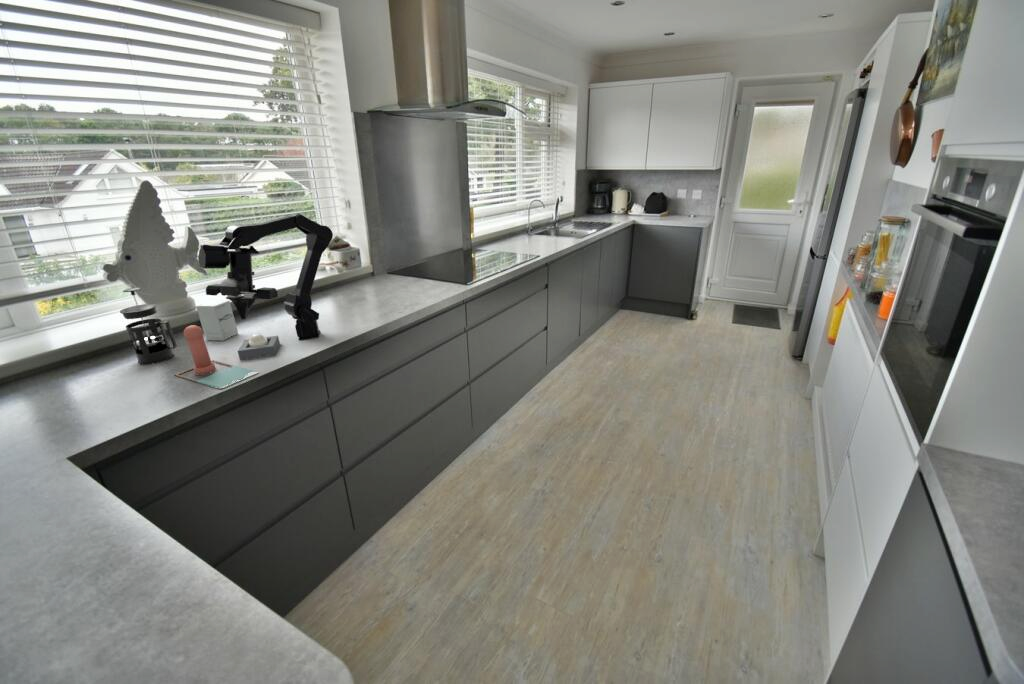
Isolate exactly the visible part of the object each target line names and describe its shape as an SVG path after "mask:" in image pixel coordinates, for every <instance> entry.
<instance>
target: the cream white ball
mask: <svg viewBox="0 0 1024 684" xmlns="http://www.w3.org/2000/svg"><path fill="white" fill-rule="evenodd" d="M266 337H267V336H264V335H262V334H260V333H255V334H252V335H251V337H250V340H249V345H250V347H257V346H264V345H268V341H267V338H266Z"/></svg>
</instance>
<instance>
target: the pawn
mask: <svg viewBox="0 0 1024 684" xmlns="http://www.w3.org/2000/svg"><path fill="white" fill-rule="evenodd" d="M183 337H184V338H185V339H186V341H187V345H188V347H189V350H190V354H191V357H192V360H193V363H194V366H193V367H192V368H194V369H193V371H194V375H196V374H198V375H197V376H202V375H201V374H205V375H208V374H207V373H209V374H211V373H210V372H212V371H214V370H215V369H216V366H215V365H216V364H215V363H214V362H211V361H212V360H211V357H210V354H209V351H208V347H207V344H206V341H205V339H204V338H205V337H204V331H203V328H202V327H200V326H198V325H195V324H193V325H191V324H190V325H189V326H187V327H186V328H184V329H183ZM216 370H217V369H216ZM216 370H215V371H216ZM215 371H214V372H215ZM212 373H213V372H212Z"/></svg>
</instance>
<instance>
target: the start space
mask: <svg viewBox="0 0 1024 684" xmlns="http://www.w3.org/2000/svg"><path fill="white" fill-rule="evenodd" d="M211 362H216V363H215V364H218V363H219V364H218V365H222V364H223V365H222V366H225V365H227V366H226V367H228V368H230V367H229V366H231V367H232V366H234V365H233V364H229V363H225V362H221V361H218V360H215V359H212V360H211ZM192 369H193V370H194V368H193V367H191V368H188V369H186V370H183V371H180V372H178V373H175V374H174V376H175V375H176V376H175V377H178V376H179V377H178V378H181V377H182V378H181V379H184V378H185V379H184V380H187V379H189V380H188V381H190V380H192V381H191V382H194V381H196V382H195V383H197V381H198V380H199V379H194V378H191V377H188V376H185V375H182V374H181V373H183V374H185V373H188V372H190V371H193V370H192ZM189 370H190V371H189ZM187 371H188V372H187ZM184 372H185V373H184ZM218 372H219V371H218ZM218 372H216V373H218ZM179 374H180V375H179ZM213 374H214V373H211V375H213ZM208 376H209V375H208ZM208 376H206V377H208ZM203 378H204V377H203ZM203 378H201V379H203Z"/></svg>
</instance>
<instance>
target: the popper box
mask: <svg viewBox="0 0 1024 684" xmlns="http://www.w3.org/2000/svg"><path fill="white" fill-rule="evenodd" d="M265 337H266V338H267V341H268V345H264V346H257V347H250V345H249V340H250V339H251V338H250V339H244V340H243V342H242V344H241V345H240V347H238V350H237V354H238V358H239V360H240V359H243V360H247V359H246V358H250V359H254V358H253V357H257V358H260V357H259V356H264V357H268V356H267V355H271V356H275V355H276V354H277V352H278V350H279V347H280V344H281V342H280V337H279V335H272V336H265ZM277 349H278V350H277Z"/></svg>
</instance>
